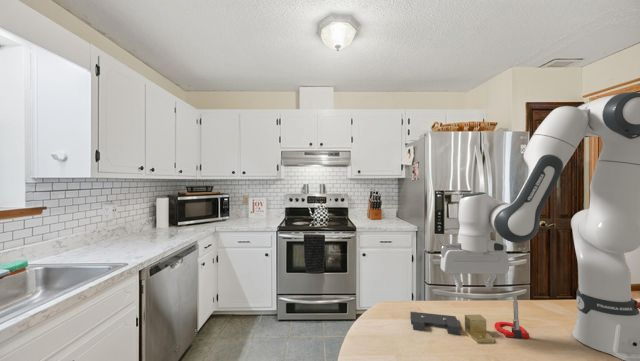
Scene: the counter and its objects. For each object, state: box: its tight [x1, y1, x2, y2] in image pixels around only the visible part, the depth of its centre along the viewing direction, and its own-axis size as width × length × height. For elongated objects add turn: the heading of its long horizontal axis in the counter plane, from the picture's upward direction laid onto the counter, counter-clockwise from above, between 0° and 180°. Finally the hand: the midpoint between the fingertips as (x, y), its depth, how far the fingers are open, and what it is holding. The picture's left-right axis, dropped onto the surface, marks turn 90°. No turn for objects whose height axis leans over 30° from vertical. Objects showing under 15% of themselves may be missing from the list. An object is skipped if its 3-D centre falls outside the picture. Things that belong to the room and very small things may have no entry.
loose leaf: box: [464, 314, 495, 344], centre depth 89 cm, size 5×8×5 cm, turn 179°
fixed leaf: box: [410, 311, 461, 336], centre depth 97 cm, size 15×10×3 cm
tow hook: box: [494, 294, 531, 339], centre depth 93 cm, size 8×13×9 cm
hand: (474, 286), depth 91 cm, fingers open, 8 cm apart
